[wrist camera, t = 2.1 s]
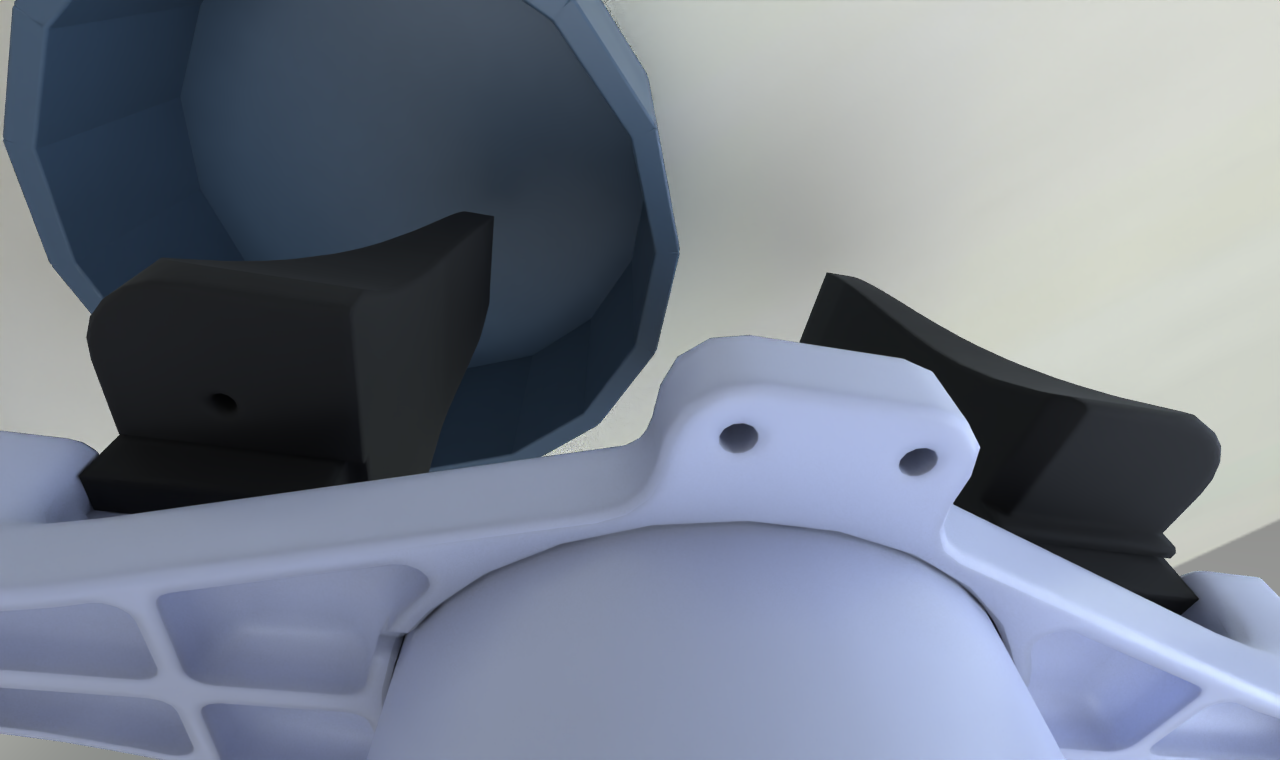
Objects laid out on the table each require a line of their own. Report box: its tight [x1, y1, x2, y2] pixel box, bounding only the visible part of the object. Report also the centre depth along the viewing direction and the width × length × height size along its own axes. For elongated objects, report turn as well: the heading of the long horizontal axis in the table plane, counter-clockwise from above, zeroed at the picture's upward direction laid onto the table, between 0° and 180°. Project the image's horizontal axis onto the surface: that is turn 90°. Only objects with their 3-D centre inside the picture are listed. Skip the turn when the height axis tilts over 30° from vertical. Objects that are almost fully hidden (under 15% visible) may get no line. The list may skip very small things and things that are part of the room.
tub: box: [3, 0, 680, 473], centre depth 14 cm, size 12×12×5 cm
